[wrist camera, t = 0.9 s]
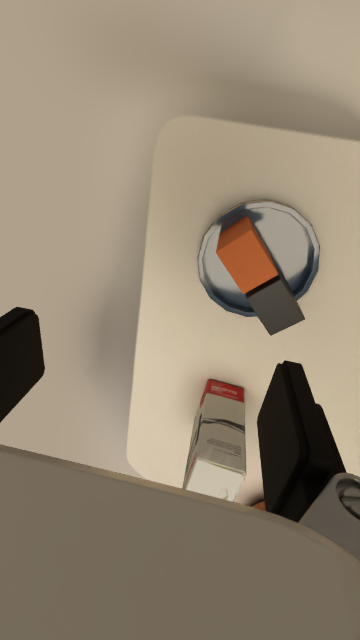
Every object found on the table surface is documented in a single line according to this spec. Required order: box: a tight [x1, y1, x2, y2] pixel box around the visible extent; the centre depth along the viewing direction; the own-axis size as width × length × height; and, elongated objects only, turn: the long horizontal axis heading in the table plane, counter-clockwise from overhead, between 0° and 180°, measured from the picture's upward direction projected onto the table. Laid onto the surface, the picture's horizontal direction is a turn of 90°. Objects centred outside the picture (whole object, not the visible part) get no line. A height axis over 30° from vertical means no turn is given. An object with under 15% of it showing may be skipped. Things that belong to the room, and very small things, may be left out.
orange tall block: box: [216, 215, 278, 294], centre depth 24 cm, size 3×4×7 cm
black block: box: [246, 256, 305, 335], centre depth 26 cm, size 3×4×7 cm
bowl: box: [198, 200, 320, 317], centre depth 28 cm, size 11×11×2 cm
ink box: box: [182, 379, 246, 502], centre depth 33 cm, size 8×5×12 cm, turn 168°
